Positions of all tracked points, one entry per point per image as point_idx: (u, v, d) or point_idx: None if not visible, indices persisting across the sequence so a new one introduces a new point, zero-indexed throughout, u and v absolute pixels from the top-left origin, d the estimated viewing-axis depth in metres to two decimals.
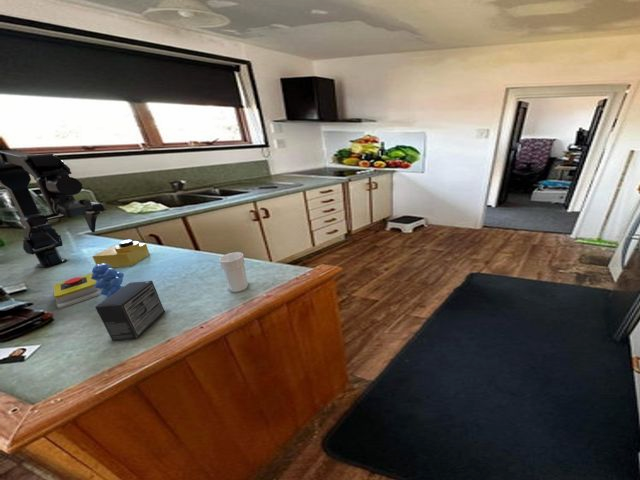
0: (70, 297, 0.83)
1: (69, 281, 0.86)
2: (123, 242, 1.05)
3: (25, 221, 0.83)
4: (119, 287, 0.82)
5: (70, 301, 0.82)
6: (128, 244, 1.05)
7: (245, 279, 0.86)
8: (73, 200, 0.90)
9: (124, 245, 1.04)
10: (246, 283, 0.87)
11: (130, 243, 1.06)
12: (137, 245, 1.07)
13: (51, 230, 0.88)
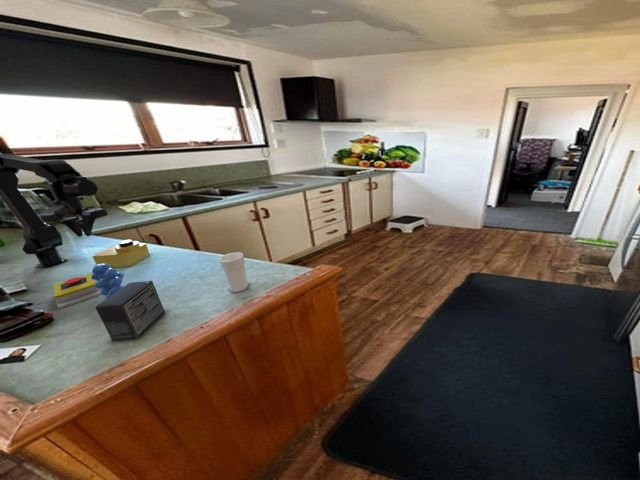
0: (70, 297, 0.83)
1: (69, 281, 0.86)
2: (123, 242, 1.05)
3: None
4: (119, 287, 0.82)
5: (70, 301, 0.82)
6: (128, 244, 1.05)
7: (245, 279, 0.86)
8: (63, 206, 0.94)
9: (124, 245, 1.04)
10: (246, 283, 0.87)
11: (130, 243, 1.06)
12: (137, 245, 1.07)
13: (69, 226, 0.99)
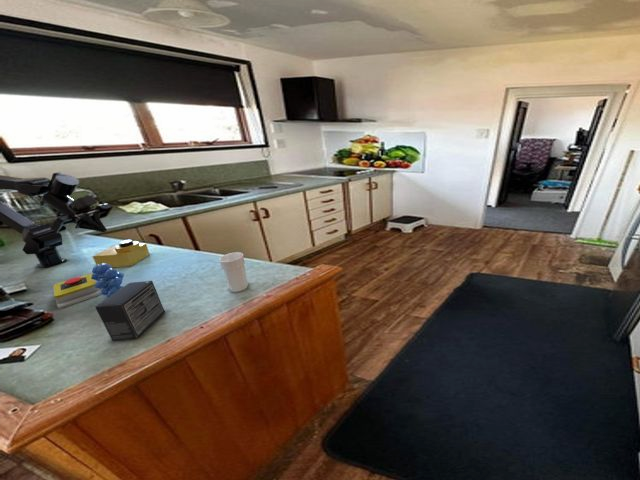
0: (70, 297, 0.83)
1: (69, 281, 0.86)
2: (123, 242, 1.05)
3: (55, 221, 0.93)
4: (119, 287, 0.82)
5: (70, 301, 0.82)
6: (128, 244, 1.05)
7: (245, 279, 0.86)
8: None
9: (124, 245, 1.04)
10: (246, 283, 0.87)
11: (130, 243, 1.06)
12: (137, 245, 1.07)
13: (93, 221, 1.02)
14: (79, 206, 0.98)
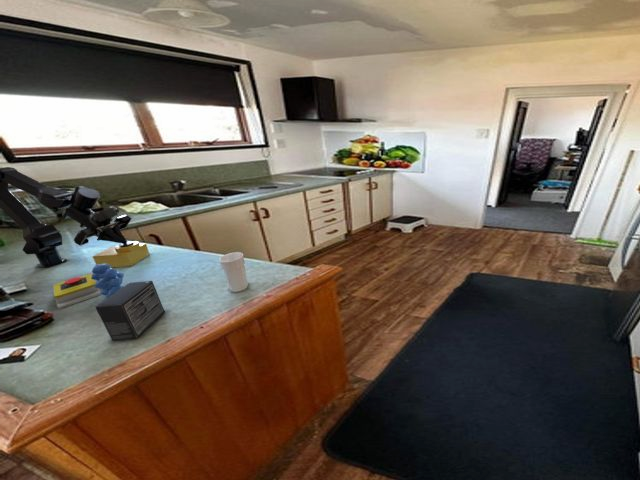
0: (70, 297, 0.83)
1: (69, 281, 0.86)
2: (124, 244, 1.05)
3: (78, 234, 0.94)
4: (119, 287, 0.82)
5: (70, 301, 0.82)
6: None
7: (245, 279, 0.86)
8: None
9: None
10: (246, 283, 0.87)
11: None
12: (137, 245, 1.07)
13: (114, 233, 1.04)
14: (101, 219, 1.00)
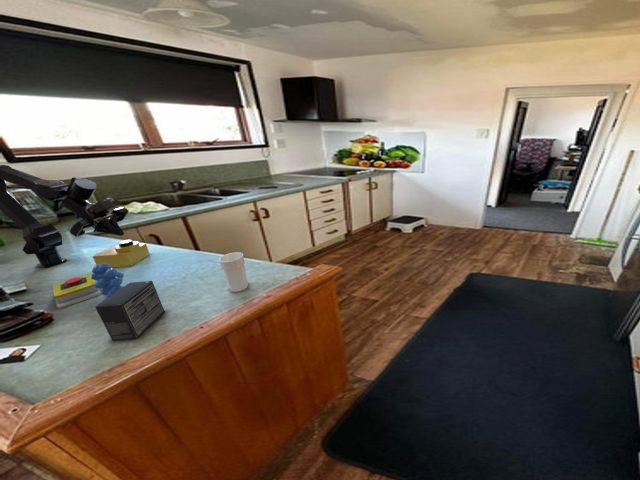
0: (70, 297, 0.83)
1: (69, 281, 0.86)
2: (123, 242, 1.05)
3: (74, 225, 0.93)
4: (119, 287, 0.82)
5: (70, 301, 0.82)
6: (128, 244, 1.05)
7: (245, 279, 0.86)
8: None
9: (124, 245, 1.04)
10: (246, 283, 0.87)
11: (130, 243, 1.06)
12: (137, 245, 1.07)
13: (111, 225, 1.02)
14: (97, 210, 0.99)
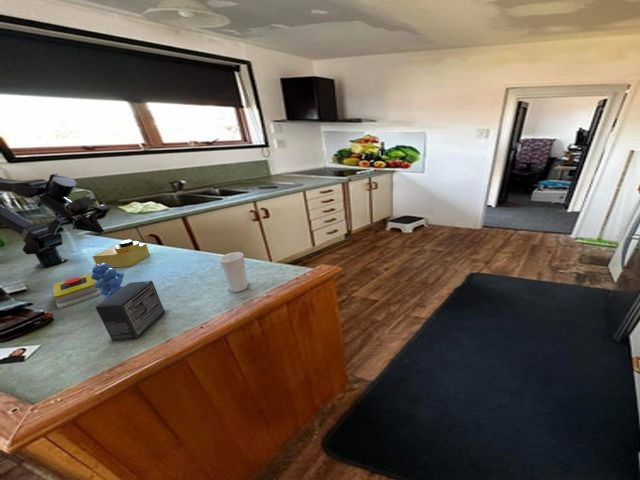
0: (70, 297, 0.83)
1: (69, 281, 0.86)
2: (123, 242, 1.05)
3: (52, 223, 0.93)
4: (119, 287, 0.82)
5: (70, 301, 0.82)
6: (128, 244, 1.05)
7: (245, 279, 0.86)
8: None
9: (124, 245, 1.04)
10: (246, 283, 0.87)
11: (130, 243, 1.06)
12: (137, 245, 1.07)
13: (90, 223, 1.02)
14: (76, 207, 0.98)
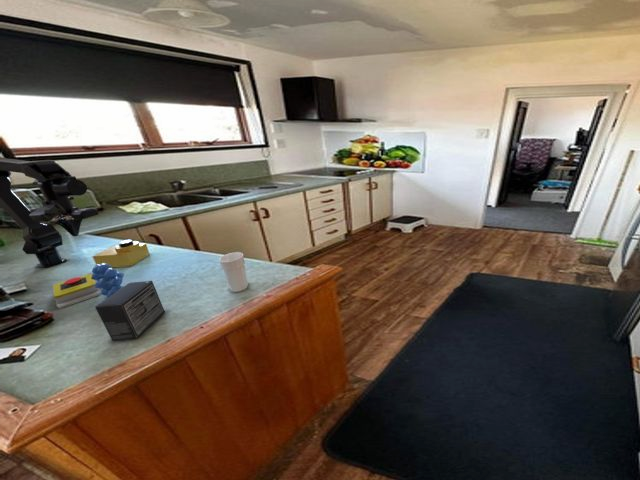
0: (70, 297, 0.83)
1: (69, 281, 0.86)
2: (123, 242, 1.05)
3: None
4: (119, 287, 0.82)
5: (70, 301, 0.82)
6: (128, 244, 1.05)
7: (245, 279, 0.86)
8: (53, 205, 0.95)
9: (124, 245, 1.04)
10: (246, 283, 0.87)
11: (130, 243, 1.06)
12: (137, 245, 1.07)
13: (64, 226, 1.00)
14: None
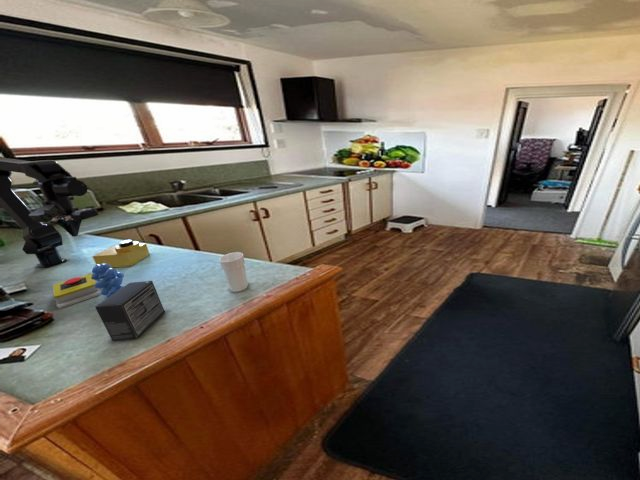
0: (70, 297, 0.83)
1: (69, 281, 0.86)
2: (123, 242, 1.05)
3: None
4: (119, 287, 0.82)
5: (70, 301, 0.82)
6: (128, 244, 1.05)
7: (245, 279, 0.86)
8: (53, 206, 0.95)
9: (124, 245, 1.04)
10: (246, 283, 0.87)
11: (130, 243, 1.06)
12: (137, 245, 1.07)
13: (63, 226, 1.00)
14: None
